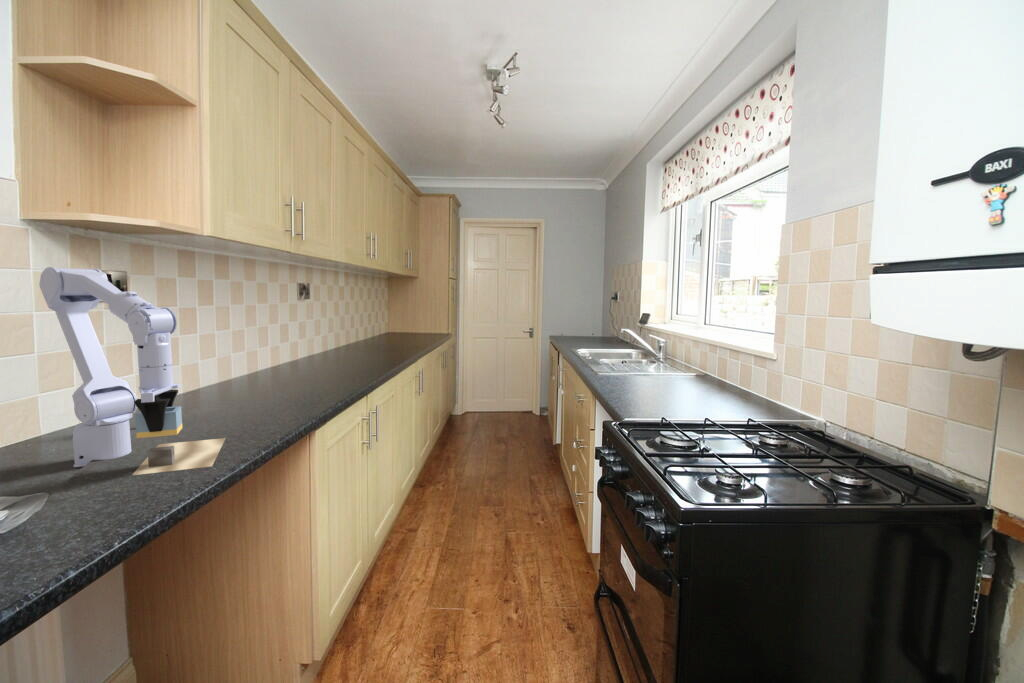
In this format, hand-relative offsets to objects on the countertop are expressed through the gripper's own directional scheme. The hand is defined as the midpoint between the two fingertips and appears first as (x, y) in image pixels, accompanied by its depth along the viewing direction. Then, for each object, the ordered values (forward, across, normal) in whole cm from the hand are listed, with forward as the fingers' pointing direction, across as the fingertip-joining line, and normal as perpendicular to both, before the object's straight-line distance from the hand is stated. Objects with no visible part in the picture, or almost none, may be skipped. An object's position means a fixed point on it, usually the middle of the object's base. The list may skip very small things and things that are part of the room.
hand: (159, 427), depth 101 cm
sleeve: (+1, 0, 0) cm, 1 cm away
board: (+9, +5, -3) cm, 11 cm away
